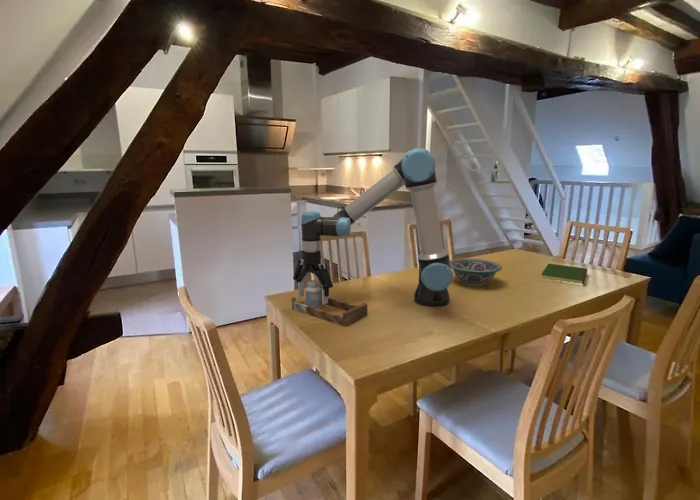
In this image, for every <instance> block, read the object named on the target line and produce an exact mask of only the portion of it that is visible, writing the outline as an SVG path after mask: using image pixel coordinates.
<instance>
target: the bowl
mask: <svg viewBox="0 0 700 500" xmlns="http://www.w3.org/2000/svg"><path fill="white" fill-rule="evenodd" d="M449 262H450V268H451V269H452V271H453V273H454V275H455V276H456V278H457V279H458V280H459V281H461V283H462V284H463V285H464V284H465V286H467V285H470V286H469V287H473V286H479V287H483V286H482V285H484V284H486V283H489V282H491V280H492V279H493V278H494V277H495V275H496V274H497V272H499V271H500V272H501V271H502V269H503V267H502V265H501V264H499V263H497V262H495V261H491V260H487V259H482V258H481V259H480V258H458V259H457V258H456V259H452V260H449ZM484 286H485V285H484Z"/></svg>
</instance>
